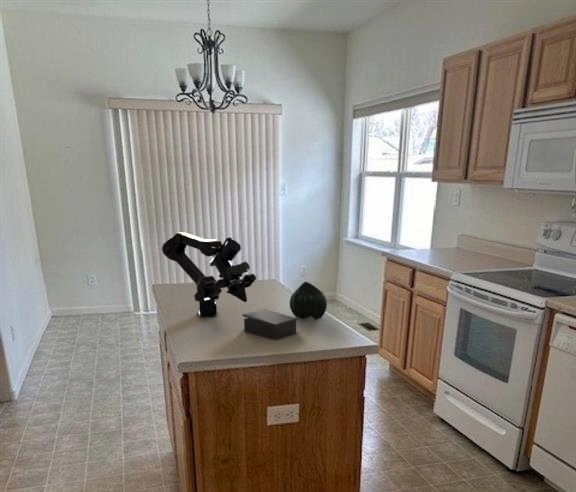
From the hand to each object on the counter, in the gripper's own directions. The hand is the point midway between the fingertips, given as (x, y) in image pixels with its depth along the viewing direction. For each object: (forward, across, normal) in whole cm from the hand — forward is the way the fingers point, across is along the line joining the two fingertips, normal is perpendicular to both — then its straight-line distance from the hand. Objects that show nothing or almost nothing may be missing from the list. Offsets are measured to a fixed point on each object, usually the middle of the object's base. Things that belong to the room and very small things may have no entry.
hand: (246, 301), depth 202 cm
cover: (+12, 0, -6) cm, 13 cm away
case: (+16, 0, -2) cm, 16 cm away
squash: (+14, +26, 0) cm, 29 cm away
